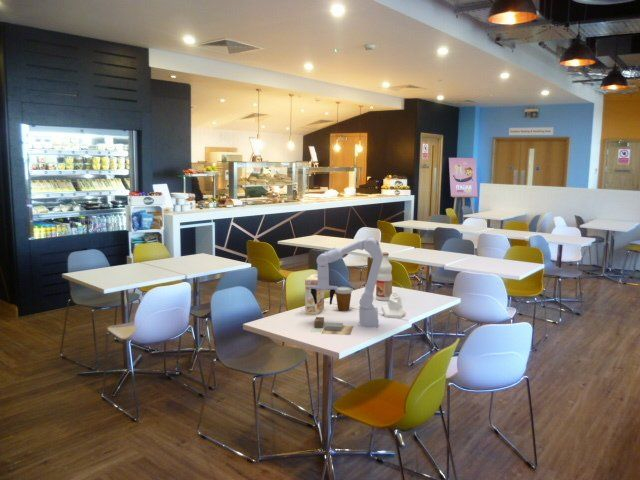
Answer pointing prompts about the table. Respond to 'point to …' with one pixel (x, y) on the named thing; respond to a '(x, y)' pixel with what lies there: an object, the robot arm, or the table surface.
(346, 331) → the mat
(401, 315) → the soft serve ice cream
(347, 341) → the table surface
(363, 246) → the robot arm
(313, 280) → the coffeecake box
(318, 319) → the block
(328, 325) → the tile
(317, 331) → the block
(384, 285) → the fruit juice
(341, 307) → the disposable coffee cup
